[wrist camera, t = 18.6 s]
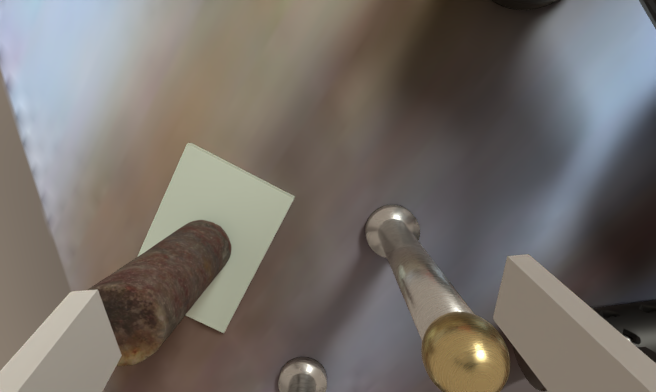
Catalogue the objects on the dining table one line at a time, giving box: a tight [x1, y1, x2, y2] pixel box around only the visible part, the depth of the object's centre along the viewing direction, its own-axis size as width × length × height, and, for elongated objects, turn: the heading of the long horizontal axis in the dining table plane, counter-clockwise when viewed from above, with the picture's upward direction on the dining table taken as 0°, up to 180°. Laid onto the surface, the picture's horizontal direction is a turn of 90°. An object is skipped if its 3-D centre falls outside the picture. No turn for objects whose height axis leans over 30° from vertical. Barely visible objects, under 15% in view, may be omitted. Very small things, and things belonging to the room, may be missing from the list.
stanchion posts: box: [278, 205, 510, 392], centre depth 34 cm, size 7×33×28 cm, turn 152°
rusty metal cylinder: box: [88, 220, 231, 366], centre depth 35 cm, size 8×7×20 cm
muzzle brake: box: [513, 300, 656, 391], centre depth 43 cm, size 10×28×10 cm, turn 99°
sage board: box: [138, 143, 295, 333], centre depth 46 cm, size 15×22×1 cm
